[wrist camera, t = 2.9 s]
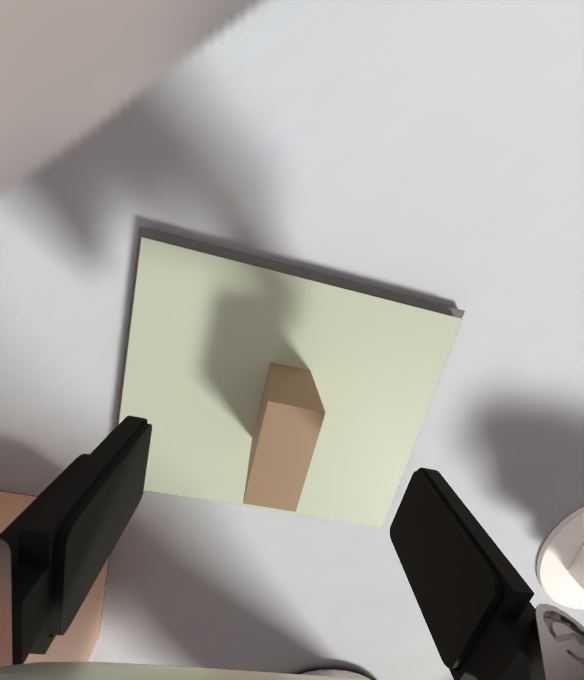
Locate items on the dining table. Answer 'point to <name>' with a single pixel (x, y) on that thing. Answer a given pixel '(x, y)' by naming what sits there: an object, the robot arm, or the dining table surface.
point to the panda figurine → (564, 562)
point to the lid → (277, 385)
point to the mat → (278, 268)
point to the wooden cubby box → (86, 623)
